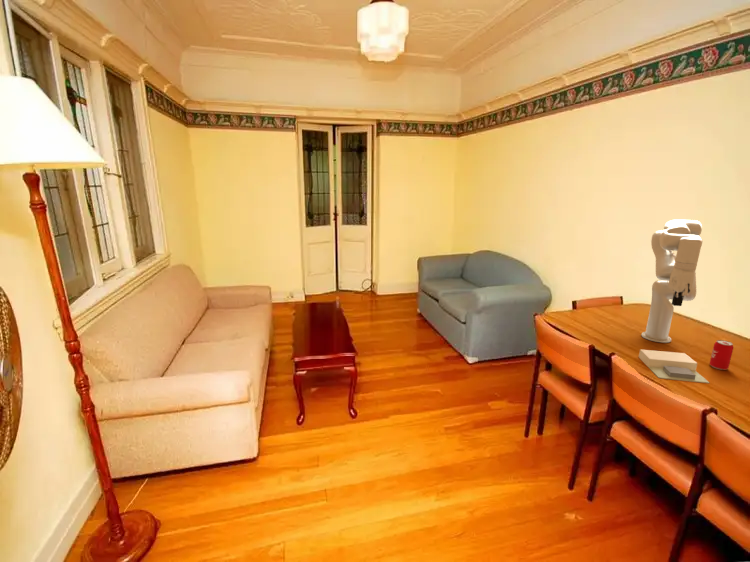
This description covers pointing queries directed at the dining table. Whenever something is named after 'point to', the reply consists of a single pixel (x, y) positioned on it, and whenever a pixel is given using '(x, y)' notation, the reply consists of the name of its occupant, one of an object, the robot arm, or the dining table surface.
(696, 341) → the dining table surface
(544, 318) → the dining table surface
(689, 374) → the slate coaster
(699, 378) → the mat
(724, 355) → the beverage can
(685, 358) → the block
